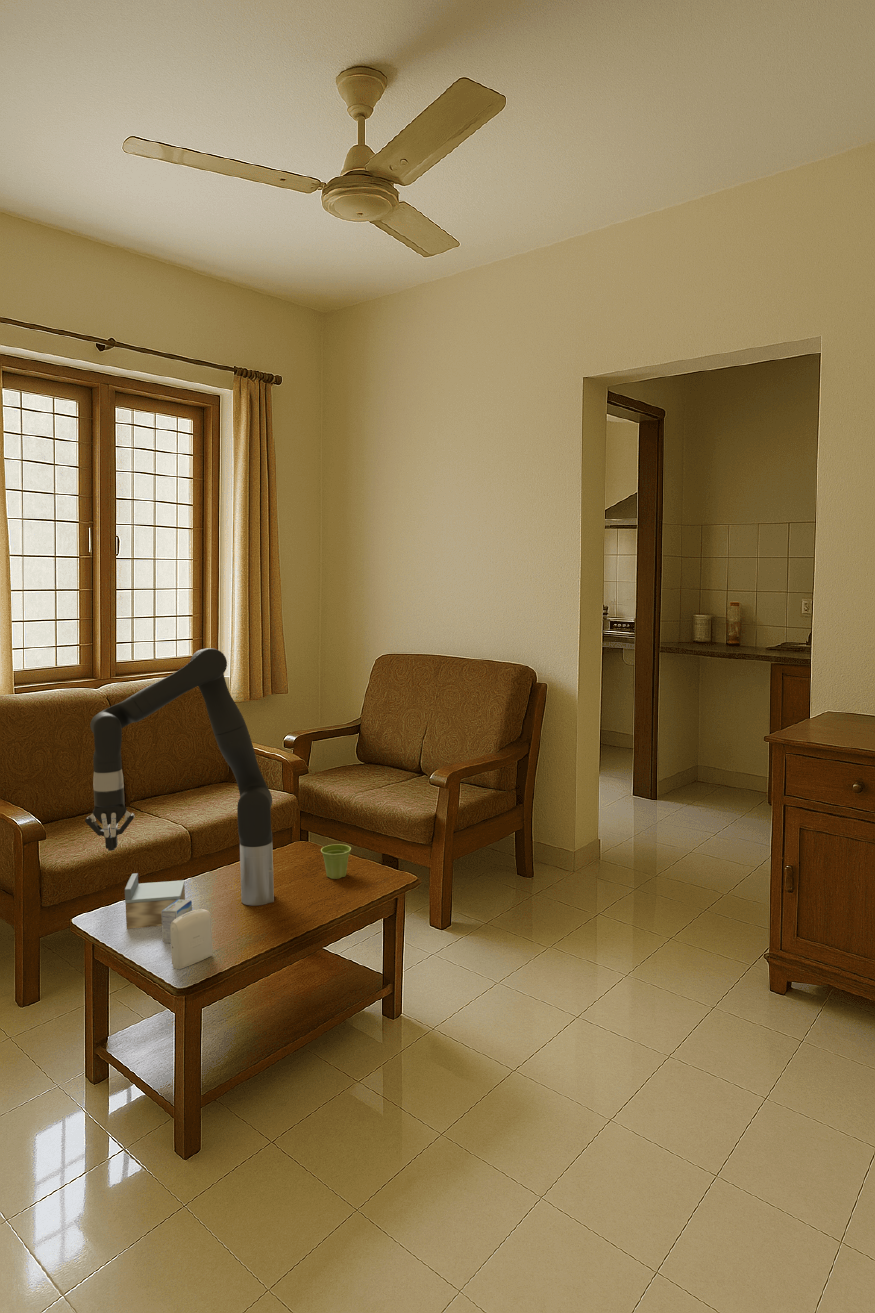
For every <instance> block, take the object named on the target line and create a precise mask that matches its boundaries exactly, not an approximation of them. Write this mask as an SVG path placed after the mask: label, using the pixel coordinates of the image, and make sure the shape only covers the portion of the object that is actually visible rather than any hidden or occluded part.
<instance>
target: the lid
mask: <svg viewBox="0 0 875 1313" xmlns="http://www.w3.org/2000/svg"><path fill="white" fill-rule="evenodd" d="M185 883H186V882H185V879H181V880H171V881H169V880H168V881H157V882H156V881H155V882H142V883H141V882H140V883H139V873H138V872H137V873H134V872H133V873H132V874H131V876H130V877H129V879H128V881H127V883H126V886H125V887H124V903H125V904H126V903H135V902H148V901H160V900H173V899H180V898H181V894H182V891H183V887H184V885H185Z"/></svg>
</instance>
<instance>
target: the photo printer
mask: <svg viewBox="0 0 875 1313" xmlns="http://www.w3.org/2000/svg"><path fill="white" fill-rule="evenodd" d="M212 926H213V924H212V916H211V913H210V911H209V910H207V909H202V908H200V909H194V910H193V909H192V911H190V912H187V913H185V914H183V915H181V916H179V917H178V918H176V919H175V920H174V921H173V922H172V923H171V925H170V934H171V943H170V953H171V954H170V955H171V965H172V967H173V969H175V970H181V969H184V968H187V967H189V966H191V965H195V964H197V963H199V962H201V961H203V960H205V959H208V958H210V957H212V956H213V948H214V947H213V931H212V930H213V929H212V928H213V927H212Z"/></svg>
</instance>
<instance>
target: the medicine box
mask: <svg viewBox="0 0 875 1313" xmlns="http://www.w3.org/2000/svg"><path fill="white" fill-rule="evenodd" d="M192 902H193V901H192V900H191V899H185V900H181V899H179V900H176V901H175V902H173V903H172V904H171V905H169V906H168V907H166V908H165V909H164V910H162V911H161V914H162V926H161V930H162V931H161V933H162V934H161V935H162V943H165V944H171V934H170V925H171V923H172V922H173V921H174V920H175V919H176V918H178V917H179V916H181V915H183V914H185V913H187V912H190V911H193V903H192Z"/></svg>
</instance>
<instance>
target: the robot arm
mask: <svg viewBox="0 0 875 1313" xmlns="http://www.w3.org/2000/svg"><path fill="white" fill-rule="evenodd" d="M227 667H228V660H227V657H226V656H225V654H224V653H223V652H222V651H220V650H218V649H217V648H212V647H209V648H208V647H207V648H202V649H199V650H196V651H195V652H194V653H193V654H192V656H191V658H190V661H189V662H188V663H186V664H185V665H184V666H183V667H181V668H180V669H178V670H177V671H175V672H173V673H172V674H170V675H168V676H166V677H164V678H162V679H160V680H158V681H156V682H153V683H151V684H150V685H148V686H145V687H144V688H142V689H140V690H138V691H137V692H136V693H133V694H131V696H129V697H127V698H126V699H124V700H123V701H120V702H119V703H115V704H113V705H112V706H110V707H107V708H105V709H103V710H101V711H99V712H98V713H97V714H95V715H93V717H92V719H91V721H90V723H89V724H90V726H89V727H90V730H91V732H92V733H93V740H94V741H93V742H94V753H93V757H92V758H93V759H92V760H93V762H92V763H93V778H92V782H93V784H92V787H93V801H94V802H93V803H94V807H93V810H92V813H91V814H90V815H88V816H86V818H85V819H84V822H85V823H86V825H88V826H89V828H91V829H92V831H93V832H94V833H95V834H96V836H97V835H98V836H99V837H100V836H102V837H104V842H105V849H107V851H108V852H109V851H115V850H116V849H117V847H118V836H120V835H123V834H124V832H125V831H126V829H127V828H128V826H129V825H130V824H131V823H132V821H133V820H134V818H135V817H136V815H135V813H134V812H130V811H128V808H127V806H126V805H125V785H124V774H123V764H122V762H123V761H122V751H121V749H122V740H123V739H122V737H123V730H122V729H123V728H125V727H126V726H129V725H130V724H132V723H138V722H141V721H142V720H144V719H146V718H147V717H149V716H151V715H153V714H154V713H155V712H157V711H159V710H161V709H162V708H163V707H165V706H167V704H170V703H171V702H172V701H174V700H175V699H177V698H179V697H181V696H182V695H183V694H184V695H185V693H187V692H189V691H191V690H193V689H195V688H197V687H198V688H199V692H200V693H201V695H202V697H203V700H204V704H205V708H206V711H207V714H208V715H207V716H208V718H209V722H210V724H211V725H210V726H211V729H212V732H213V735H214V739H215V741H216V744H217V746H218V749H219V751H220V753H221V755H222V757H223V759H224V760H225V762H226V763H227V765H228V766H229V767H230V769H231V771H232V773H233V775H234V778H235V780H236V781H235V782H236V786H237V789H238V792H239V799H238V801H237V809H236V810H237V813H236V814H237V834H238V838H239V864H240V867H239V868H240V870H239V871H240V897H241V898H240V899H241V901H240V902H241V903H242V904H244V905H246V906H252V907H253V906H255V907H256V906H262V905H263V906H264V905H267V904H270V903H274V902H275V894H274V888H275V887H274V860H273V859H274V858H273V856H274V855H273V854H274V853H273V832H272V819H271V818H272V816H271V815H272V814H271V813H272V811H271V810H272V809H271V808H272V804H273V797H272V793H271V791H270V789H269V787H268V785H267V782H266V781H265V778H264V777H263V774H262V772H261V769H260V767H259V764H258V760H257V757H256V756H257V755H256V751H255V749H254V748H255V747H254V745H253V742H252V738H251V735H250V732H249V730H248V726H247V724H246V721H245V719H244V717H243V716H244V715H242V712H241V711H240V708H238V705H237V703H236V702H235V700H234V699H233V697H232V695H231V694H230V690H229V687H228V686H227V685H228V684H227V681H226V677H225V673H226V670H227ZM123 818H124V820H125V821H124V823H123V824H122V825H121V826H120V828H118V826H119V823H120V821H121V820H122V819H123ZM97 820H98V822H99V823H100V824H102V826H101V825H100V824H98V822H97Z"/></svg>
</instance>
